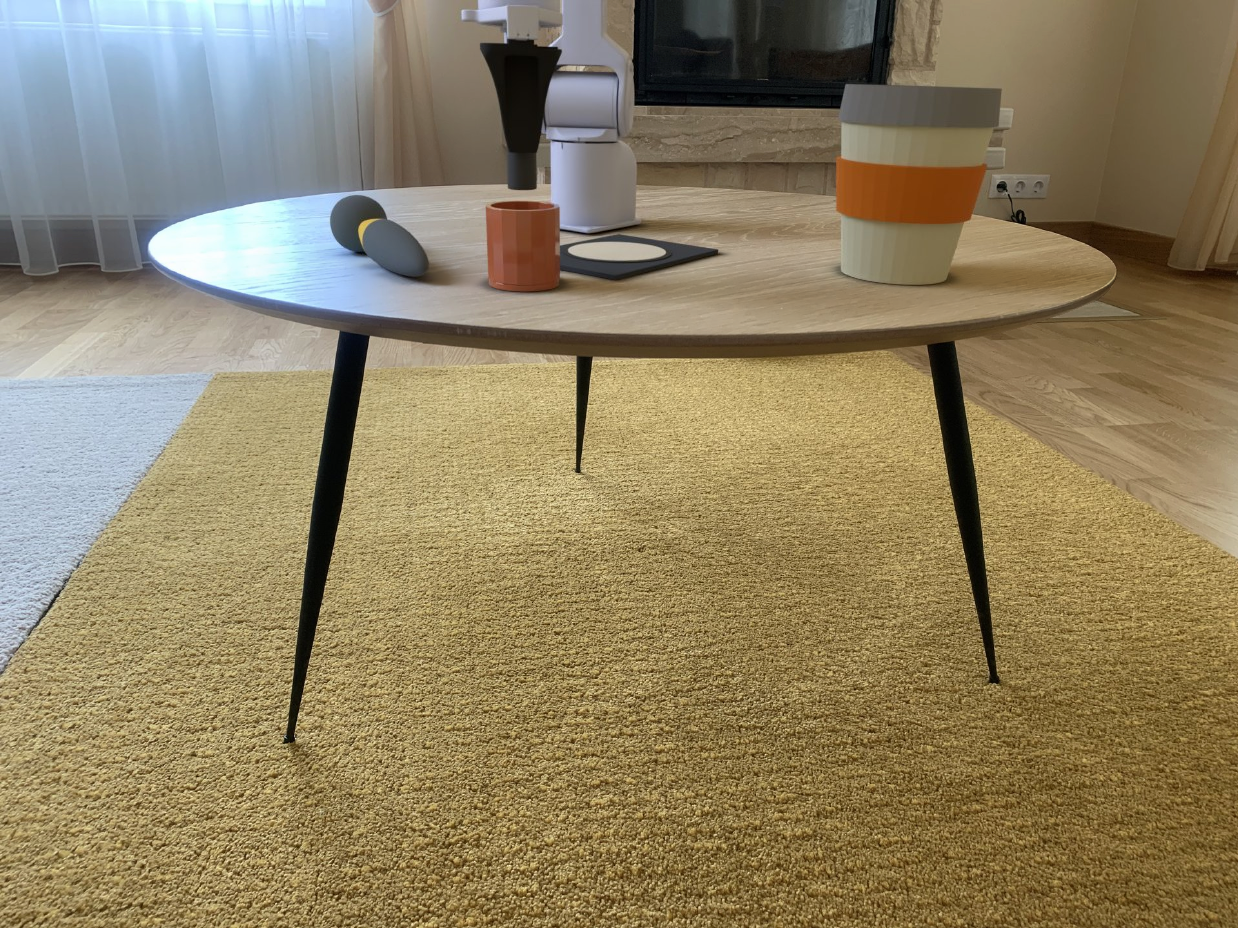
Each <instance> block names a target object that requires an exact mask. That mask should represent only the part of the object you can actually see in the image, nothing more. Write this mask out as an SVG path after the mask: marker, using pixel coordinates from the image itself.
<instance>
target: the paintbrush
mask: <svg viewBox="0 0 1238 928" xmlns="http://www.w3.org/2000/svg"><path fill="white" fill-rule="evenodd" d="M329 226H330V230H331V234H332V236H333V238H334V239H335V241H336V242H337V243H338V244H339V245H340V246H341V247H343V248H344V249H346V250H348V251H351V252H355V253H365V254H366V256H367V257H368V258H370V259H371V260H372V261H373V262H375V263H376V264H377V265H379V266H380V267H382V268H383V269H386V270H388V271H390V272H392V273H395V274H398V275H402V276H406V277H413V278H414V277H421V276H423V275H425V274H426V273H427V272H428V270H429V267H430V261H429V258H428V255H427V253H426V251H425V249H424V247H423V246H422V244H421V243H420V241H418V240H417V238H416V237H415V236H414V235H413V234H412V233H411V232H410V231H409V230H407V229H406V228H405V227H403V226H402V225H400V224H399V223H397V222H396V221H394V220H390V219H388V216H387V214H386V210H385V209H384V207H383V206H382V205H381V203H379V202H378V201H377V200H375V199H374V198H372V197H370V196H367V195H362V194H353V195H352V194H351V195H347V196H345V197H342V198H341V199H340V200H338V201H337V202H336V203H335V204H334V206H333V208H332V210H331V212H330V217H329Z"/></svg>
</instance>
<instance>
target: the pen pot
mask: <svg viewBox="0 0 1238 928" xmlns="http://www.w3.org/2000/svg"><path fill="white" fill-rule="evenodd" d="M485 224H486V225H485V227H486V252H487V254H486V255H487V277H488V285H489V287H492V288H494V289H497V290H501V291H506V292H507V291H508V292H521V293H523V292H525V293H527V292H542V291H549V290H551V289H554V288H557V287H559V286H560V284H561V283H560V281H561V270H560V245H561V229H560V207H559V205H558V204H554V203H551V202H548V201H540V200H499V201H493V202H492V201H491V202H489V203H486V204H485Z"/></svg>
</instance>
